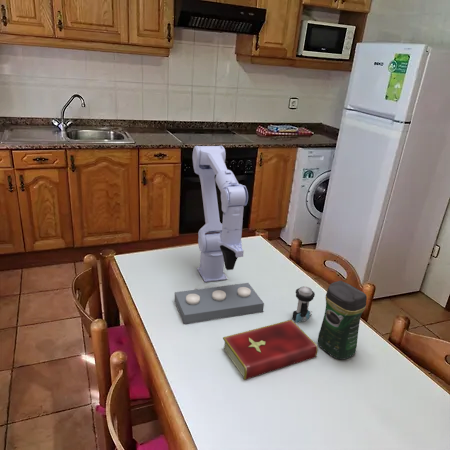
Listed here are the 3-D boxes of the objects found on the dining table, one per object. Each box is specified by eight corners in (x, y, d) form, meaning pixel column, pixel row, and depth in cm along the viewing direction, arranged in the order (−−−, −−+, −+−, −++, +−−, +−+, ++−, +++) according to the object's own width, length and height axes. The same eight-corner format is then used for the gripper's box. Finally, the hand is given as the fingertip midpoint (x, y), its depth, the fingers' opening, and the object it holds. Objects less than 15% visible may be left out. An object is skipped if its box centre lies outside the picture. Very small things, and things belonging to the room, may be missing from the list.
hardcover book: (316, 358, 104) (318, 345, 102) (244, 382, 95) (245, 367, 93) (289, 331, 113) (291, 318, 112) (221, 349, 104) (223, 336, 103)
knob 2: (234, 296, 125) (235, 287, 124) (246, 295, 126) (247, 286, 125) (239, 303, 121) (240, 294, 120) (251, 302, 123) (252, 293, 122)
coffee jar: (360, 354, 106) (374, 293, 99) (339, 364, 101) (353, 301, 94) (332, 333, 113) (344, 275, 106) (311, 342, 109) (322, 282, 102)
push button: (305, 311, 122) (310, 282, 119) (317, 320, 118) (322, 291, 114) (287, 316, 119) (292, 287, 115) (299, 326, 115) (304, 296, 111)
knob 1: (184, 303, 120) (184, 294, 118) (197, 302, 121) (197, 292, 120) (187, 311, 116) (188, 302, 115) (201, 309, 117) (201, 300, 116)
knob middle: (210, 300, 122) (210, 291, 121) (222, 298, 124) (223, 289, 122) (214, 307, 119) (214, 298, 118) (227, 305, 120) (227, 296, 119)
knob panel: (174, 300, 123) (174, 292, 122) (247, 290, 131) (248, 282, 130) (184, 324, 112) (184, 315, 111) (263, 311, 120) (264, 303, 119)
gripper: (211, 219, 122) (209, 259, 127) (227, 237, 109) (224, 281, 114) (233, 217, 124) (230, 257, 129) (251, 235, 112) (248, 279, 117)
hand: (229, 268), depth 122 cm, fingers closed
